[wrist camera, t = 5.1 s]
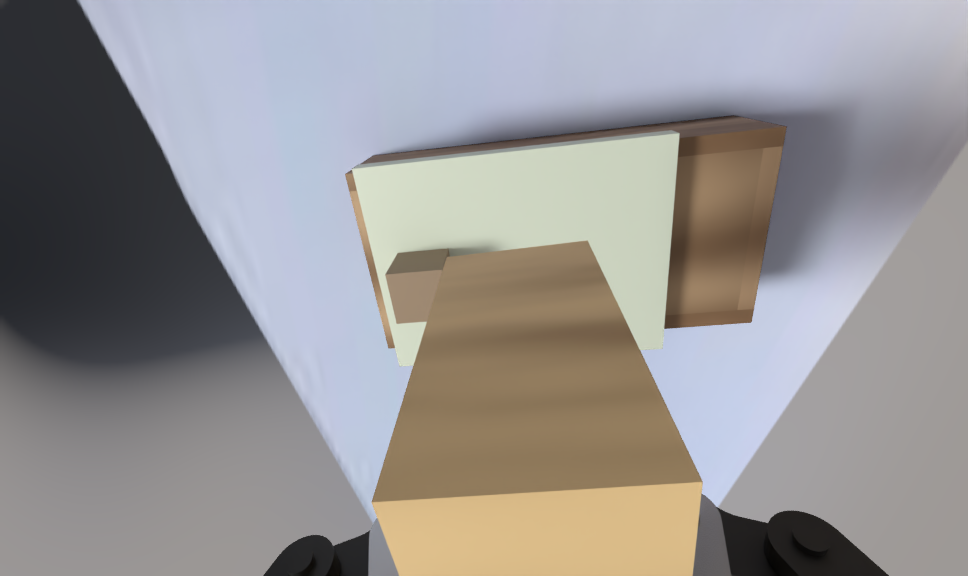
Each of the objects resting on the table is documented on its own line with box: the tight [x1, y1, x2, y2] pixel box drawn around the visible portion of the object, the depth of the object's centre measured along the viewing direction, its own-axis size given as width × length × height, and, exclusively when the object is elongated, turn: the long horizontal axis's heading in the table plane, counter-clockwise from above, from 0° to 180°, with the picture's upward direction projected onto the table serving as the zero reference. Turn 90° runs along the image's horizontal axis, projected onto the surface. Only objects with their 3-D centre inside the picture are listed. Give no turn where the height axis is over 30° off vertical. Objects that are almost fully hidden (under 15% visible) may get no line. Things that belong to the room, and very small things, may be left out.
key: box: [372, 240, 703, 576], centre depth 11 cm, size 9×4×8 cm, turn 8°
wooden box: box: [345, 115, 787, 348], centre depth 30 cm, size 12×24×6 cm, turn 96°
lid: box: [352, 130, 680, 366], centre depth 25 cm, size 13×17×4 cm
